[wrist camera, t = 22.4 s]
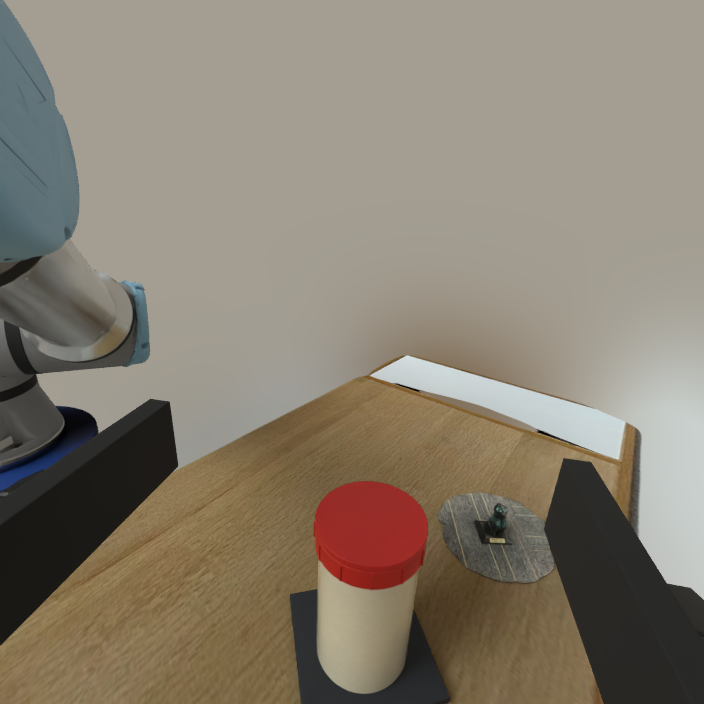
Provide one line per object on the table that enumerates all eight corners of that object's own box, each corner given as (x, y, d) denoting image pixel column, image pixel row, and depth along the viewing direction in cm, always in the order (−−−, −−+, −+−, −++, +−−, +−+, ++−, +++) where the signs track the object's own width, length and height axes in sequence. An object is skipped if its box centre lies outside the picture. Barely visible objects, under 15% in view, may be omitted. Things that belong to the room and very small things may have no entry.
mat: (305, 743, 25) (305, 739, 25) (290, 598, 34) (290, 594, 34) (449, 702, 27) (450, 698, 27) (399, 577, 36) (399, 573, 36)
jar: (325, 706, 26) (329, 580, 22) (310, 607, 33) (311, 496, 28) (421, 680, 28) (442, 559, 24) (389, 591, 34) (401, 484, 30)
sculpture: (502, 607, 34) (465, 515, 36) (442, 591, 42) (414, 516, 44) (583, 548, 40) (547, 471, 42) (517, 543, 47) (489, 478, 49)
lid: (325, 601, 22) (326, 577, 22) (307, 508, 29) (307, 487, 28) (444, 577, 24) (448, 554, 23) (401, 495, 31) (403, 475, 30)
